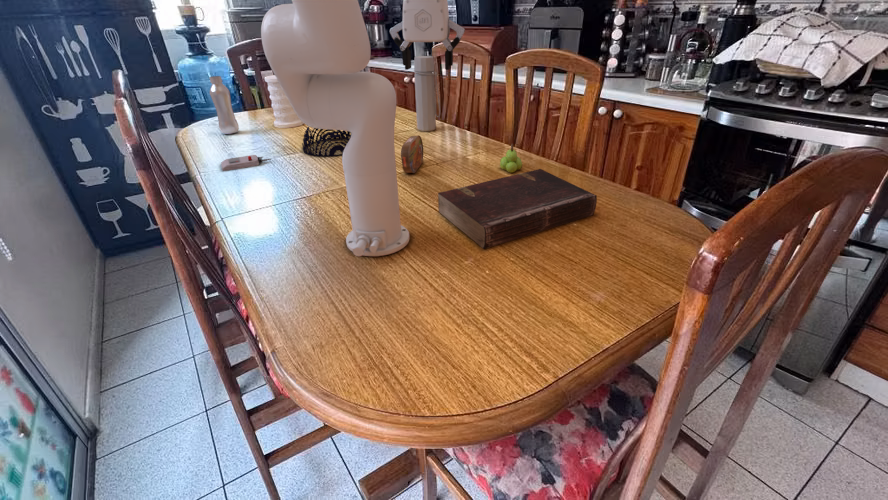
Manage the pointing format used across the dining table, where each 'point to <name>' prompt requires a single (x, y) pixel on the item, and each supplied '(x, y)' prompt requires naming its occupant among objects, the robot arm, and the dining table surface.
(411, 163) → the tin
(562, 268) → the dining table surface
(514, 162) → the grapes
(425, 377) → the dining table surface
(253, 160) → the moisture meter
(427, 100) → the water bottle
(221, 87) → the plastic bottle
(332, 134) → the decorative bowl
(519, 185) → the hardback book
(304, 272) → the dining table surface
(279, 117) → the decorative container
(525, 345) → the dining table surface
